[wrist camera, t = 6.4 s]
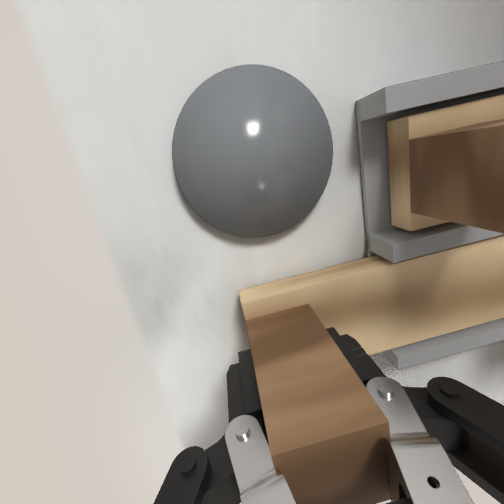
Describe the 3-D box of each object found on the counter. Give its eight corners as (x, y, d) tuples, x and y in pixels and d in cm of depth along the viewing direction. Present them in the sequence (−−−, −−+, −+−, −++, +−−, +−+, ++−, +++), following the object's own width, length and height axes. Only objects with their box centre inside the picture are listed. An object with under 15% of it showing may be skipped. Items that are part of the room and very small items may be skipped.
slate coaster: (151, 88, 12) (148, 84, 12) (317, 53, 13) (322, 47, 12) (199, 249, 15) (198, 252, 14) (336, 215, 15) (340, 217, 15)
